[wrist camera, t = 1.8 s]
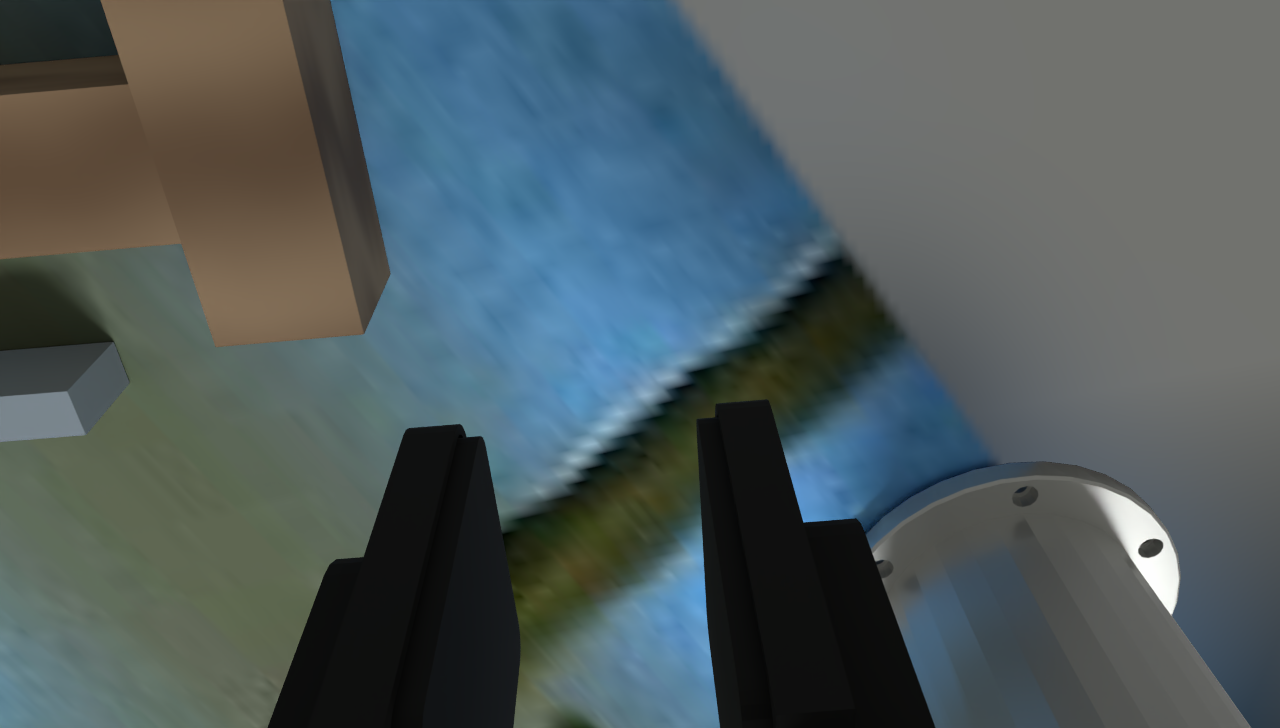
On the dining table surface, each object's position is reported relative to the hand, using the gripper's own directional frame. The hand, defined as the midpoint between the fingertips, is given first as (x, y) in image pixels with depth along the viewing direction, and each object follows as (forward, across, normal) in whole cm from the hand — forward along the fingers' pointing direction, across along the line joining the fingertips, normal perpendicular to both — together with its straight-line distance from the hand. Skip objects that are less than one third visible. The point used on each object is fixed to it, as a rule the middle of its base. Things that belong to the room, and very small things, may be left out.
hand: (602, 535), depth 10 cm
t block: (+19, +12, 0) cm, 23 cm away
